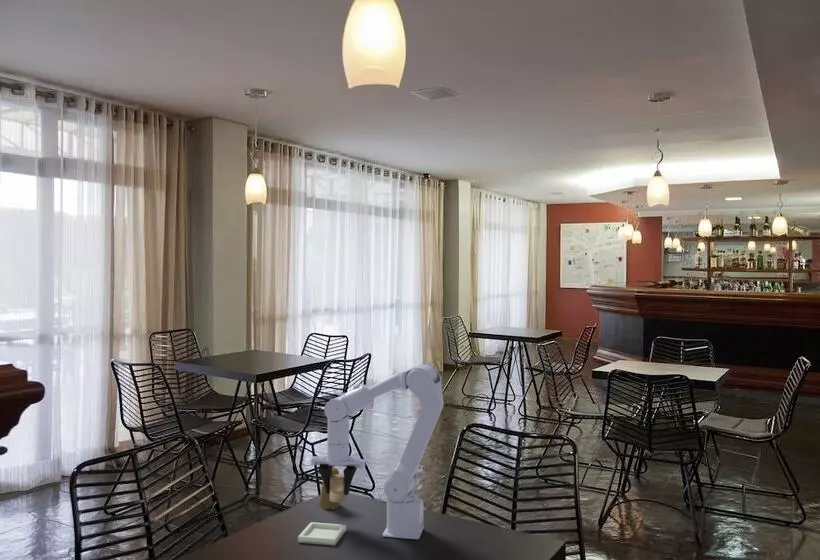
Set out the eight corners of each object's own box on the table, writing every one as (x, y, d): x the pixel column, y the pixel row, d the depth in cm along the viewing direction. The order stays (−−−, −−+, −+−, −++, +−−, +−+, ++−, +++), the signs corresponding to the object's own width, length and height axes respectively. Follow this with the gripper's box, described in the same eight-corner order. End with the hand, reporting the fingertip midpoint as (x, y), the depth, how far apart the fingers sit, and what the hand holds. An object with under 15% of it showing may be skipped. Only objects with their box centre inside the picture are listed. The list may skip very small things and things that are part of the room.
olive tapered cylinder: (338, 509, 181) (339, 471, 181) (317, 509, 181) (317, 470, 181) (341, 502, 187) (341, 465, 187) (321, 502, 187) (321, 464, 187)
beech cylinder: (348, 497, 171) (348, 475, 171) (343, 502, 167) (343, 479, 167) (332, 496, 172) (332, 474, 172) (327, 501, 168) (327, 478, 168)
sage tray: (346, 530, 165) (346, 524, 165) (335, 545, 156) (335, 539, 156) (311, 527, 167) (311, 522, 167) (297, 542, 158) (298, 536, 158)
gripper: (368, 440, 172) (367, 490, 172) (317, 437, 175) (317, 486, 175) (361, 446, 165) (360, 499, 165) (308, 443, 168) (308, 494, 168)
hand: (337, 493), depth 170 cm, fingers closed on beech cylinder, 4 cm apart
